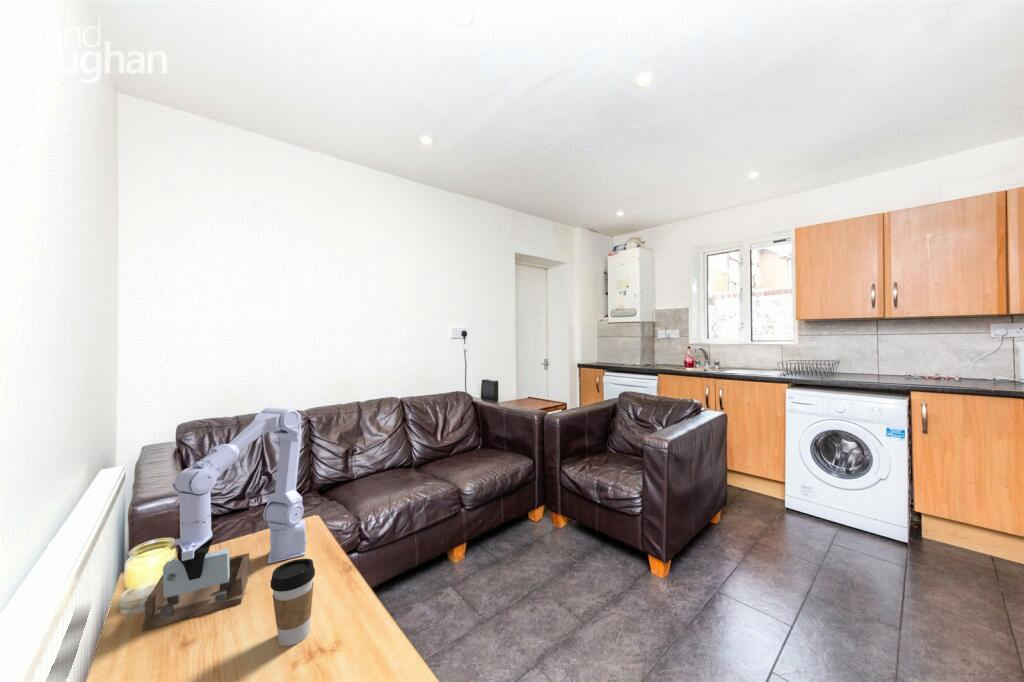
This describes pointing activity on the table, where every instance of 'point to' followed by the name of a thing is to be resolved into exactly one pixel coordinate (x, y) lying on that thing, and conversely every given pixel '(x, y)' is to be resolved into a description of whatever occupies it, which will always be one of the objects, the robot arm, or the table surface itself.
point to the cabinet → (197, 597)
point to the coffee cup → (293, 600)
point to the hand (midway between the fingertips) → (196, 574)
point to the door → (212, 574)
